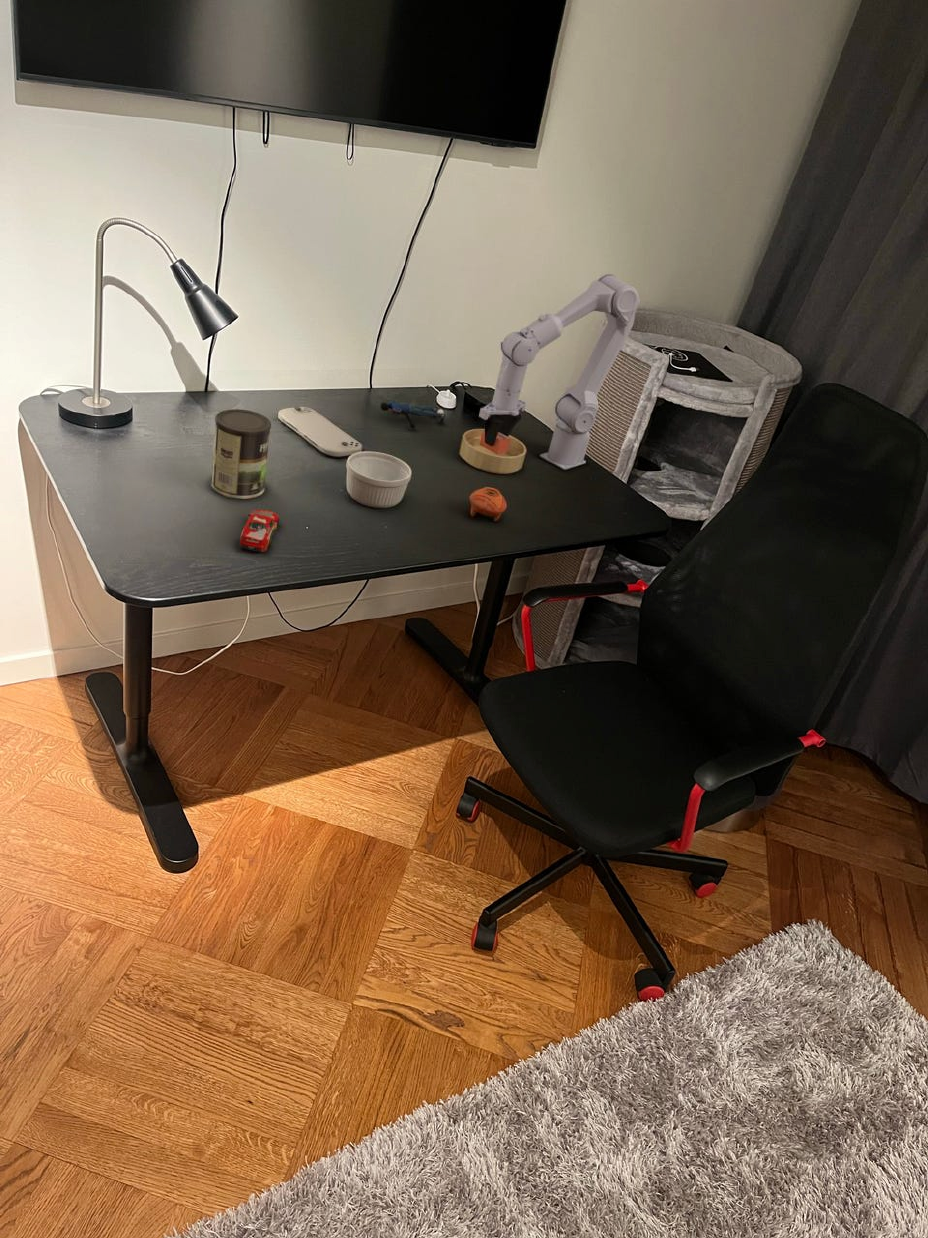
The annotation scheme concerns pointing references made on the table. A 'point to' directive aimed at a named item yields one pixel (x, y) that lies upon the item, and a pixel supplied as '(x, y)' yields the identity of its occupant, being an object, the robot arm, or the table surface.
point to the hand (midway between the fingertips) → (494, 442)
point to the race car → (259, 530)
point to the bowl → (491, 454)
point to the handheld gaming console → (319, 432)
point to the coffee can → (240, 453)
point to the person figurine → (413, 411)
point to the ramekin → (377, 479)
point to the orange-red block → (497, 443)
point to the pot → (487, 502)
